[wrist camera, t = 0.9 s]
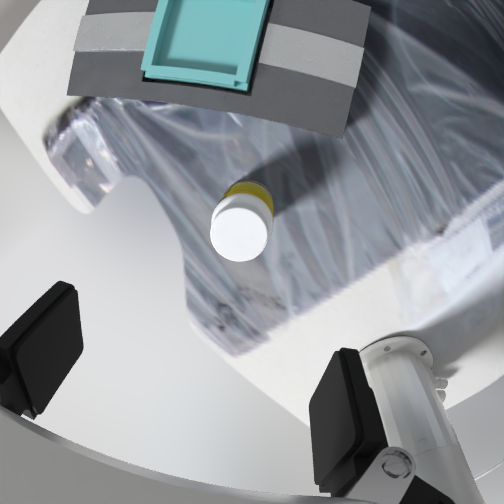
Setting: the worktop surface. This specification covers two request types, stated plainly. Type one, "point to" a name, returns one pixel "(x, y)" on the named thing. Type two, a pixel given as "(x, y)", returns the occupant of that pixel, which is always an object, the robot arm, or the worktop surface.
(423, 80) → the worktop surface
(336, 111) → the block
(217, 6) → the tray
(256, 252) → the supplement bottle
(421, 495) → the robot arm
